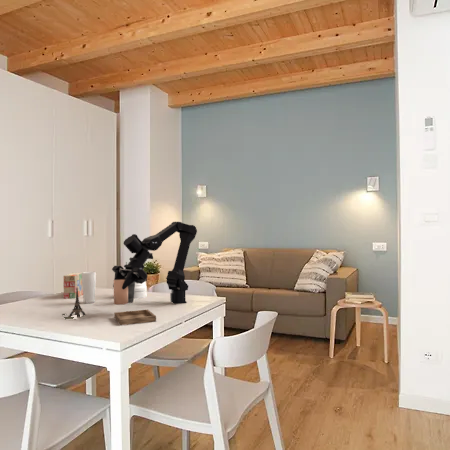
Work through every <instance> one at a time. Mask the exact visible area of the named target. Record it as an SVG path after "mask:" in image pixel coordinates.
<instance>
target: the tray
mask: <svg viewBox="0 0 450 450" xmlns="http://www.w3.org/2000/svg"><path fill="white" fill-rule="evenodd" d="M113 318H114V320H115V321H116V322H117V324H118V325H119V326H123V325H124V326H125V325H135V324H145V323H152V322H153V323H154V322H155V323H156V322H157V316H156V315H155V314H154V313H153V312H151V311H150V310H149V309H140V310H137V309H136V310H127V311H117V312H113Z"/></svg>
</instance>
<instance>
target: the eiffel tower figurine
mask: <svg viewBox="0 0 450 450" xmlns="http://www.w3.org/2000/svg"><path fill="white" fill-rule="evenodd" d="M80 313H82V314H83V315H85V316H87V314H86V313H85V311H84V310H83V307H81V304H80V299H79V297H78V288H76V298H75V303H74V306H73V309H72V311H71V312H70V313H69V315H68V317H63V318H65V319H64V320H66V319H73V318H74V317H71V316H72V315H77V317H79V318H81V317H80ZM65 314H66V313H61V315H62V316H63V315H64V316H66V315H65Z"/></svg>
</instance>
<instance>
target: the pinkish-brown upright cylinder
mask: <svg viewBox="0 0 450 450" xmlns="http://www.w3.org/2000/svg"><path fill="white" fill-rule="evenodd" d="M124 281H125V279H116V280H114V279H113V283H114V287H113V304H114V305H127V304H129V303H128V287H126V288H125V289H122V286H123V283H124Z"/></svg>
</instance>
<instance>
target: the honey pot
mask: <svg viewBox="0 0 450 450" xmlns="http://www.w3.org/2000/svg"><path fill="white" fill-rule="evenodd" d="M147 287H148V286H147V284H146V281H145V282H143V283H142V284H141V283H136V282H135V289H134V300H135V299H144V298H147V297H148V296H147V295H148V292H147V291H148V290H147V289H148V288H147Z"/></svg>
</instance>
